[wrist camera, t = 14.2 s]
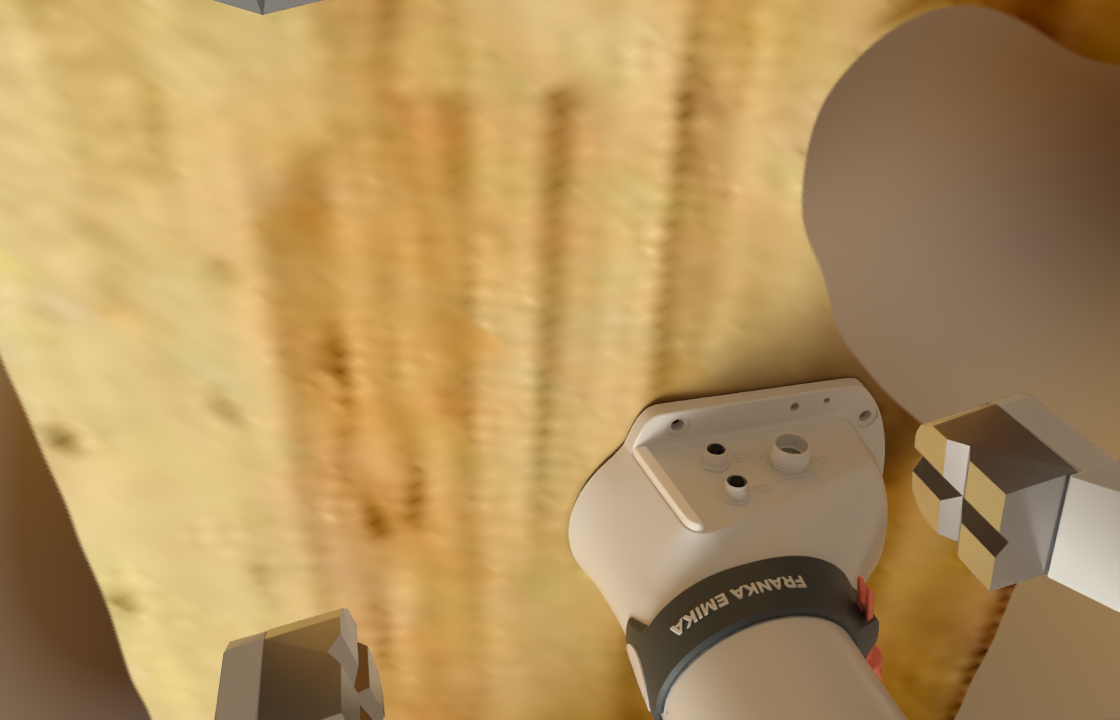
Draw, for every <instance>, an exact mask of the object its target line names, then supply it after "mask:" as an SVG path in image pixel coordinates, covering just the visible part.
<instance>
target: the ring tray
mask: <svg viewBox="0 0 1120 720" xmlns="http://www.w3.org/2000/svg"><path fill="white" fill-rule="evenodd" d="M215 1H218V2H221V3H225V4H228V5H231V6H235V7H238V8H241V9H245V10H248V11H251V12H255V13H258V14H261V15H264V14H268V13H273V12H277V11H281V10H285V9H289V8H293V7H297V6H301V5H305V4H309V3H314V2H318V1H322V0H215Z"/></svg>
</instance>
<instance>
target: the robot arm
mask: <svg viewBox="0 0 1120 720" xmlns="http://www.w3.org/2000/svg"><path fill="white" fill-rule="evenodd" d="M862 412H863V413H862ZM678 419H679V421H678V422H677V423H675V424H672V423H673V422H674V421H675V420H678ZM915 448H916V449H917V450H918V451H919V452H920V453H921V454H922V455H923V457H922V458H921V460H920V461H919V463H918V464H917V465H916V467H915V468H914V470H913V474H912V490H913V493H914V496H915V499H916V503H917V506H918V508H919V510H920V511H921V513H922V515H923V516H924V518H925V520H926V521H927V522H928V523H929V524H930V526H931V527H932V528H933V529H934V530H935V531H936V533H938V534H940V535H943V536H945V537H948V538H950V539H953V540H956V541H958V557H959V558H960V559H961V560H962V562H963V563H964V564H965V565H966V566H967V567H968V568H969V569H970V570H971V571H972V573H973V574H974V575H975V576H976V577H977V578H978V579H979V580H980V581H981V582H982V584H983V585H984V586H985V587H986V588H987V589H988V590H989V591H993V590H996V589H999V588H1002V587H1006V586H1009V585H1012V584H1015V583H1019V582H1022V581H1025V580H1028V579H1031V578H1035V577H1038V576H1041V575H1044V574H1048V577H1049V578H1051V579H1053V580H1055V581H1057V582H1059V583H1061V584H1063V585H1065V586H1067V587H1069V588H1071V589H1073V590H1075V591H1078V592H1079V593H1081V594H1084V595H1086V596H1088V597H1090V598H1092V599H1094V600H1096V601H1098V602H1100V603H1102V604H1104V605H1106V606H1108V607H1110V608H1112V609H1114V610H1116V611H1118V612H1120V459H1119V460H1115V459H1114V458H1112V457H1111V456H1110V455H1108V454H1107V453H1106V452H1104V451H1103V450H1102V449H1101V448H1099V447H1098V446H1096V445H1095V444H1094V443H1093V442H1091V441H1090V440H1089V439H1087V438H1086V437H1085V436H1083V435H1082V434H1081V433H1080V432H1078V431H1077V430H1076V429H1074V428H1073V427H1072V426H1070V425H1069V424H1068V423H1066V422H1065V421H1064V420H1063V419H1061V418H1060V417H1059V416H1057V415H1056V414H1055V413H1053V412H1052V411H1051V410H1049V409H1048V408H1047V407H1046V406H1044V405H1043V404H1042V403H1040V402H1039V401H1038V400H1036V399H1035V398H1034V397H1032V396H1030V395H1028V394H1025V393H1021V392H1020V393H1017V394H1013V395H1010V396H1007V397H1004V398H1001V399H998V400H995V401H992V402H989V403H987V404H985V405H979V406H976V407H974V408H970V409H967V410H964V411H961V412H958V413H955V414H952V415H949V416H946V417H943V418H940V419H937V420H934V421H931V422H928V423H925V424H922V425H920V427H919V429H918V430H917V432H916V436H915ZM884 459H885V437H884V428H883V422H882V418H881V414H880V411H879V408H878V406H877V404H876V402H875V400H874V398H873V397H872V396H871V394H870V393H869V392H868V390H867V389H866V388H865V387H864V385H863V384H862V383H861V382H860V381H859V380H857V379H855V378H843V379H836V380H828V381H821V382H814V383H806V384H799V385H792V386H785V387H777V388H770V389H763V390H756V391H748V392H741V393H734V394H727V395H719V396H712V397H705V398H698V399H690V400H683V401H676V402H669V403H662V404H656V405H653V406H650V407H648V408H647V409H645V410H644V411H643V412H642V413H641V414H640V415H639V417H638V418H637V420H636V421H635V423H634V425H633V426H632V428H631V430H630V432H629V434H628V436H627V438H626V440H625V442H624V444H623V446H622V447H621V448H620V449H619V450H618V451H617V452H616V453H615V455H613V456H612V457H611V458H610V459H609V460H608V461H607V462H606V463H605V464H604V465H603V466H602V467H601V468H600V469H599V470H598V471H597V472H596V473H595V474H594V475H593V476H592V477H591V479H590V480H589V481H588V483H587V484H586V485H585V487H584V488H583V490H582V491H581V493H580V495H579V497H578V499H577V501H576V503H575V505H574V508H573V511H572V514H571V518H570V523H569V543H570V547H571V551H572V554H573V556H574V558H575V560H576V562H577V563H578V565H579V566H580V567H581V568H582V569H583V571H584V572H585V573H586V574H587V575H588V576H589V577H590V578H591V580H592V581H593V582H594V583H595V585H596V586H597V587H598V589H599V590H600V592H601V593H602V595H603V596H604V598H605V599H606V601H607V602H608V604H609V606H610V607H611V609H612V611H613V612H614V614H615V616H616V618H617V619H618V621H619V623H620V625H621V627H622V628H623V630H624V632H625V634H626V642H627V652H628V656H629V659H630V662H631V665H632V668H633V670H634V673H635V676H636V679H637V682H638V684H639V687H640V690H641V692H642V695H643V698H644V700H645V703H646V705H647V708H648V710H649V711H651V712H652V715H653V717H654V719H655V720H907V718H906V717H905V715H904V714H903V712H902V711H901V710H900V708H899V707H898V705H897V704H896V703H895V701H894V700H893V698H892V697H891V695H890V694H889V693H888V691H887V690H886V688H885V687H884V685H883V684H882V682H881V679H882V676H881V675H882V667H881V664H882V662H883V656H882V653H881V651H880V649H879V648H878V647H877V646H876V645H875V643H876V641H877V638H878V631H879V622H878V620H877V618H876V617H875V615H874V613H873V609H874V597H873V593H872V590H871V588H870V587H869V588H867V586H866V584H865V582H866V581H867V579H868V578H869V576H870V575H871V573H872V572H873V570H874V569H875V567H876V565H877V563H878V561H879V559H880V556H881V553H882V550H883V546H884V541H885V536H886V530H887V513H888V506H887V496H886V490H885V485H884V481H883V477H882V475H883V469H884ZM384 717H385V713H384V700H383V693H382V688H381V683H380V678H379V673H378V670H377V668H376V665H375V662H374V659H373V657H372V655H371V652H370V650H369V648H368V646H366V645H363V644H361V643H358V642H357V625H356V623H355V621H354V619H353V618H352V616H351V614H350V612H349V611H348V609H344V608H342V609H339V610H335V611H332V612H328V613H325V614H321V615H318V616H315V617H311V618H308V619H304V620H301V621H297V622H294V623H290V624H287V625H284V626H280V627H277V628H273V629H270V630H268V631H265V632H262V633H259V634H255V635H252V636H248V637H245V638H241V639H238V640H234V641H231V642H229V644H228V646H227V648H226V650H225V652H224V654H223V661H222V668H221V675H220V683H219V690H218V698H217V705H216V712H215V720H383V718H384ZM1106 720H1120V714H1119V715H1117V716H1114V717H1111V718H1108V719H1106Z"/></svg>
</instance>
